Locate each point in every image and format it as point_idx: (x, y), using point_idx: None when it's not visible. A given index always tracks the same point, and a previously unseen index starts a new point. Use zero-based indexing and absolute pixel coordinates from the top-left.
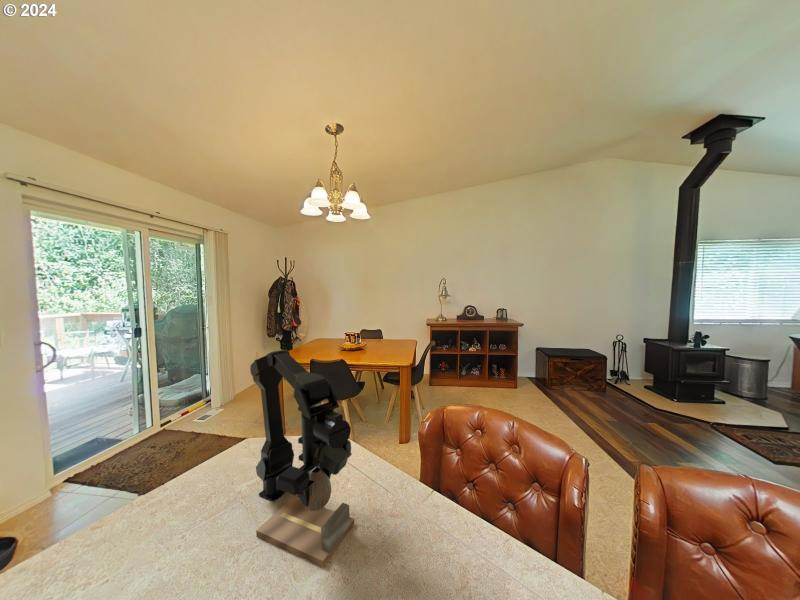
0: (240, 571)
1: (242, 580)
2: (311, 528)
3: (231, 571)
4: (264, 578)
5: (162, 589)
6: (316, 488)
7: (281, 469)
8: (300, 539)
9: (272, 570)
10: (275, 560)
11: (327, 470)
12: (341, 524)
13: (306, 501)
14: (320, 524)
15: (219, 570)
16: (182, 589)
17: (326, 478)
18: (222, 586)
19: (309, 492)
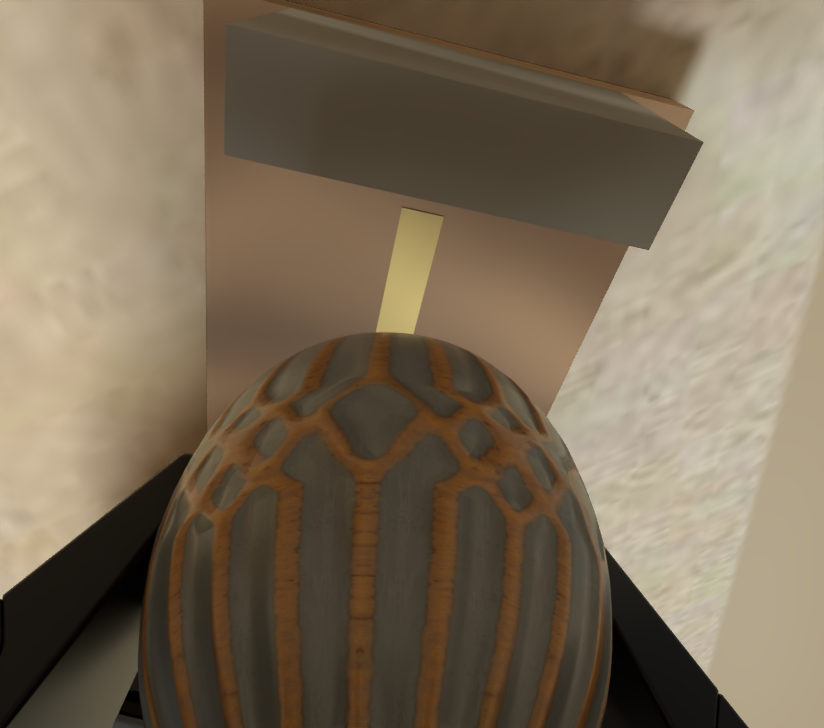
0: (652, 509)
1: (699, 482)
2: (410, 332)
3: (650, 535)
4: (702, 408)
5: (699, 652)
6: (592, 687)
7: (129, 719)
8: (505, 358)
9: (659, 396)
10: (600, 411)
11: (47, 720)
12: (431, 58)
13: (644, 599)
14: (359, 287)
15: (641, 569)
16: (708, 615)
17: (304, 681)
18: (717, 528)
19: (662, 709)
